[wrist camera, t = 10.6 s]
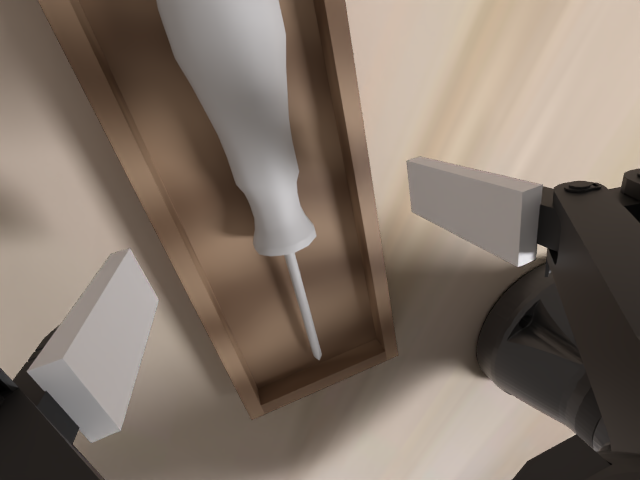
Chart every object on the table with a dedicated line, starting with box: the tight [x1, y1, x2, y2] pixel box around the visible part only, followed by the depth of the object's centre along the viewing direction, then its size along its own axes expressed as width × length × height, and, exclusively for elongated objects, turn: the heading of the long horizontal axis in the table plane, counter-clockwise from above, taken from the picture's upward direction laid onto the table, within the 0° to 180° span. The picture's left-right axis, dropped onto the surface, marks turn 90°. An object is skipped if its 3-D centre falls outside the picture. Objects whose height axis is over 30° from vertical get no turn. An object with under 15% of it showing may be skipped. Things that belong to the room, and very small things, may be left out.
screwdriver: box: [156, 0, 322, 360], centre depth 17 cm, size 5×25×4 cm, turn 12°
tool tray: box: [38, 0, 398, 420], centre depth 18 cm, size 30×12×2 cm, turn 13°
